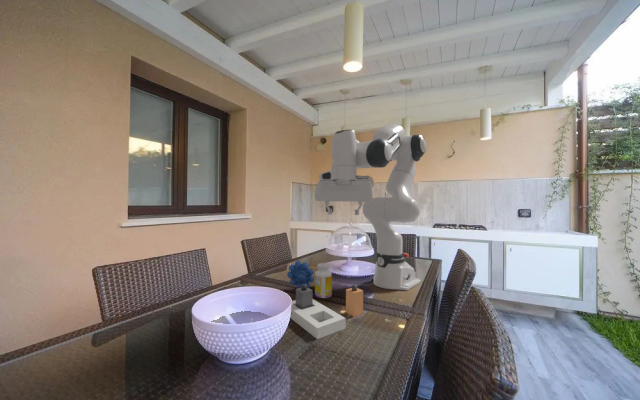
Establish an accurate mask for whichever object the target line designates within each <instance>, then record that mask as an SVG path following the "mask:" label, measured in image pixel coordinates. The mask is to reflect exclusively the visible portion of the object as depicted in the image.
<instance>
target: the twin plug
mask: <svg viewBox="0 0 640 400" xmlns="http://www.w3.org/2000/svg"><path fill="white" fill-rule="evenodd" d="M313 296H314V295H313V289H311V288H310V287H307V285H306V284H302V285H301V288H296V289H295V300H296V306H297V307H298V308H299V309H301V310H302V309H306V308H309V307H313V299H314V298H313Z"/></svg>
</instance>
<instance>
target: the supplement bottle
mask: <svg viewBox="0 0 640 400" xmlns="http://www.w3.org/2000/svg"><path fill="white" fill-rule="evenodd" d="M316 268H317V270H316V271H315V272H314V296H315V297H317V298H320V299H328V298H330V297H332V295H333V276H332V275H333V274H332V273H333V272H332V271H331V270H330V264H329V263H327V262H326V263H325V262H320V263H318V264H317V265H316Z"/></svg>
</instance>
